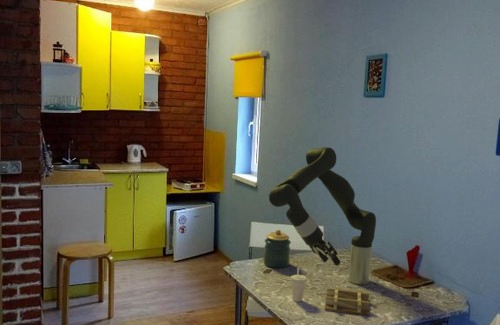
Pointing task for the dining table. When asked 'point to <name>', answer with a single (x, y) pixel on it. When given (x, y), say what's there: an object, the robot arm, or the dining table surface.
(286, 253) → the canister
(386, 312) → the dining table surface
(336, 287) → the wooden grid tray
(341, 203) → the robot arm
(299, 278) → the smoothie
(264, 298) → the dining table surface
